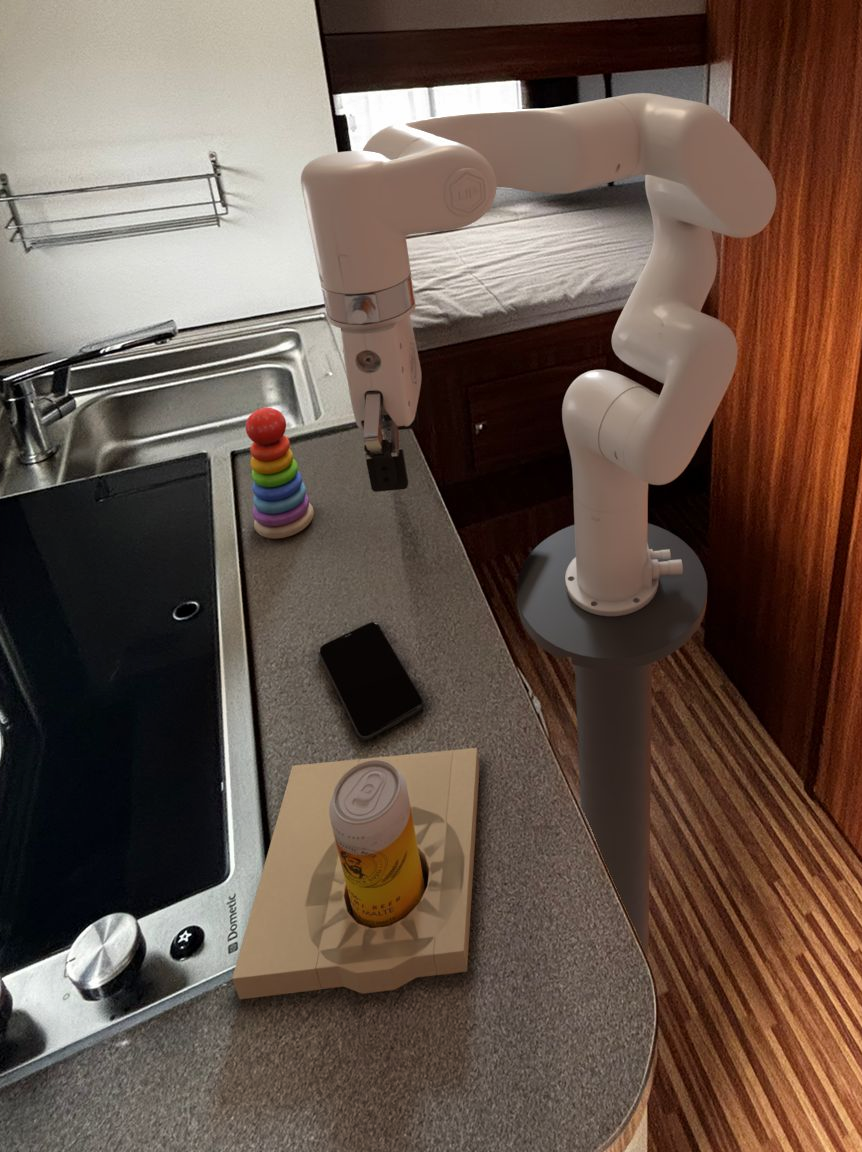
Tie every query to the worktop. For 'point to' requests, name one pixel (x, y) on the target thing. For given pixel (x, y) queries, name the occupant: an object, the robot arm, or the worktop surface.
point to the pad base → (320, 897)
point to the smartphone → (370, 680)
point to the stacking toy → (275, 478)
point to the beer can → (377, 843)
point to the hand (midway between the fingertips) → (397, 456)
